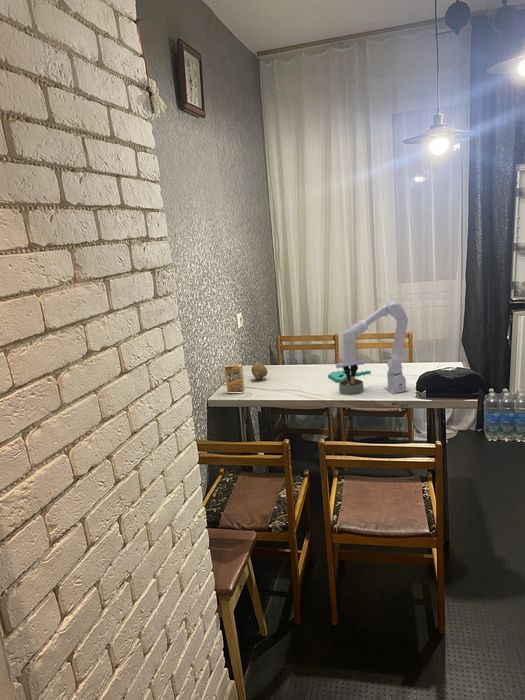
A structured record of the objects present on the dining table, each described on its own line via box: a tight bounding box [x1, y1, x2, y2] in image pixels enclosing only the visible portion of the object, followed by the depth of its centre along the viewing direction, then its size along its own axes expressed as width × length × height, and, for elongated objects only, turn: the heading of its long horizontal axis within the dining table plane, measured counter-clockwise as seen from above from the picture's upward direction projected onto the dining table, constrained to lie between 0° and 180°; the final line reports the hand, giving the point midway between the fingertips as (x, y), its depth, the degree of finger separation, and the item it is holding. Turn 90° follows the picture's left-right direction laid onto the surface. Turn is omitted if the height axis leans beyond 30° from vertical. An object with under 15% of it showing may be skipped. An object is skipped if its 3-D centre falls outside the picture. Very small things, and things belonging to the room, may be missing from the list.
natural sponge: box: [251, 362, 268, 380], centre depth 284 cm, size 9×9×10 cm
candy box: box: [224, 363, 245, 393], centre depth 264 cm, size 9×4×15 cm, turn 81°
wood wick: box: [348, 374, 354, 386], centre depth 250 cm, size 4×2×7 cm, turn 12°
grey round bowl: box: [338, 378, 365, 396], centre depth 251 cm, size 12×12×4 cm
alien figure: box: [327, 369, 372, 384], centre depth 274 cm, size 20×2×20 cm
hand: (350, 380), depth 250 cm, fingers closed on wood wick, 1 cm apart
